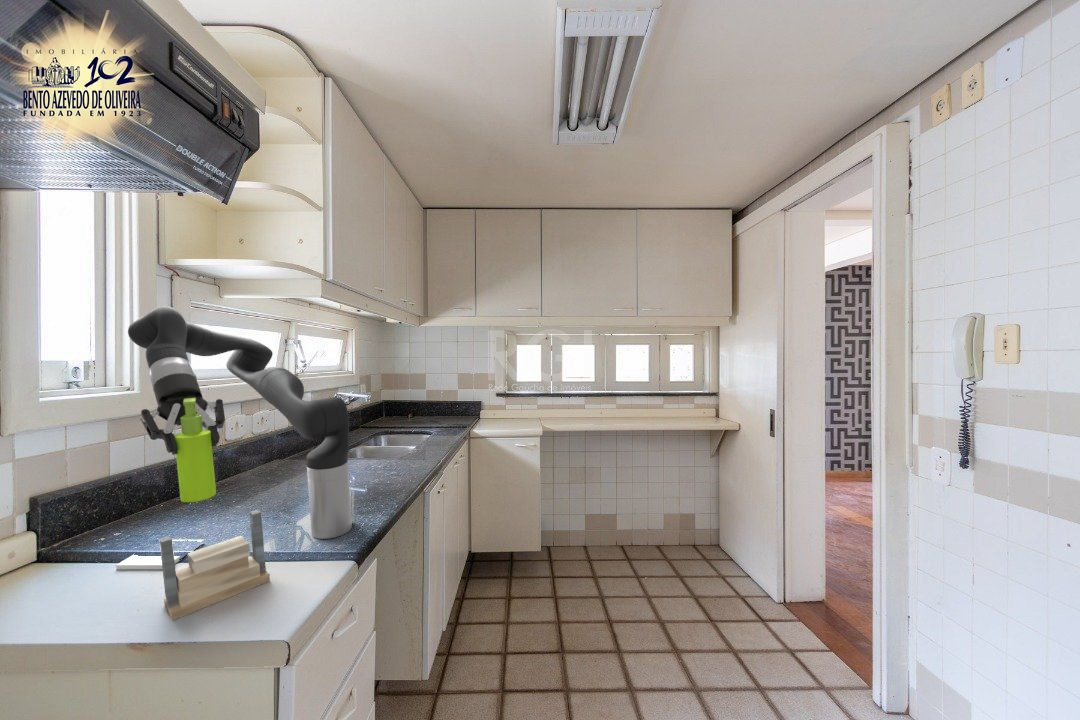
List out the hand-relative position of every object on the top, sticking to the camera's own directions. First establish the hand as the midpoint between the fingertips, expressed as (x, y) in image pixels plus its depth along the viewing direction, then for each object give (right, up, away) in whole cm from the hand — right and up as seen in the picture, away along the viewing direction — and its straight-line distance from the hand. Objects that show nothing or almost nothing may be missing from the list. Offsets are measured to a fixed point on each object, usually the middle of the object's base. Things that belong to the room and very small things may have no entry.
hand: (195, 448), depth 94 cm
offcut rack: (+6, -28, -2) cm, 29 cm away
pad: (-17, -27, +13) cm, 34 cm away
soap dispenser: (-1, -10, +2) cm, 11 cm away
